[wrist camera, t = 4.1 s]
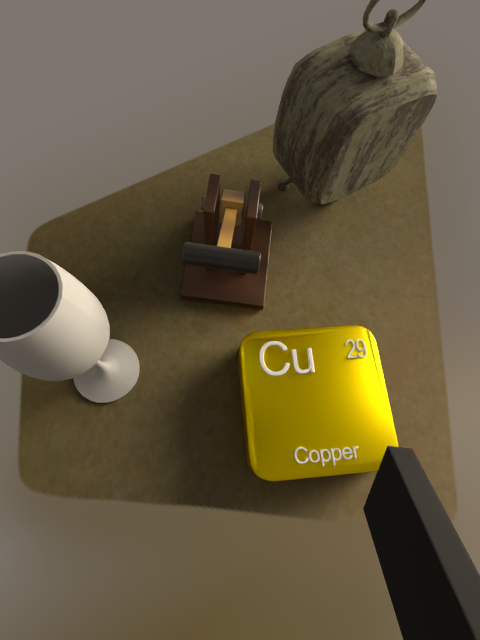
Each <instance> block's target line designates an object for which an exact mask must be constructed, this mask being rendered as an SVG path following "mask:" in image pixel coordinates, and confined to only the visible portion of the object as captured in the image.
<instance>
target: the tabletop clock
mask: <svg viewBox="0 0 480 640" xmlns="http://www.w3.org/2000/svg"><path fill="white" fill-rule="evenodd" d="M379 1H380V0H371V1H370V3H369V4H368V6H367V8H366V10H365V13H364V16H363V26H364V28H365V29H366V30H365V31H361V32H358V33H354V34H350V35H347V36H345V37H343V38H340V39H338V40H336V41H334V42H331V43H329V44H327V45H324V46H322V47H320V48H318V49H316V50H314V51H312V52H311V53H309V54H307V55H306V56H305V57H304V58H302V59H301V60H300V61H299V62H297V63H296V64H295V66H294V68H293V70H292V72H291V74H290V76H289V78H288V80H287V83H286V85H285V88H284V91H283V94H282V98H281V101H280V106H279V109H278V114H277V118H276V121H275V130H274V139H273V152H274V155H275V158H276V160H277V161H278V162H279V164H280V165H281V166H282V168H283V169H284V170H285V172H286V173H287V174H288V176H289V177H290V178H289V179H287V180H286V179H280V180H279V181H278V183H277V187H278V189H279V190H280V191H286V190H287V189H288V187H289V183H291V182H294V184H295V185H296V186H297V188H298V189H299V190H300V192H301V193H302V194H303V196H304V197H305V198H306V200H309V201H312V202H315V203H318V204H327V203H330V202H335V201H337V200H338V199H340V198H342V197H344V196H346V195H349V194H351V193H353V192H355V191H357V190H359V189H361V188H363V187H365V186H367V185H369V184H371V183H373V182H375V181H376V180H378V179H380V178H381V177H383V176H384V175H386V174H387V173H389V172H390V171H391V169H392V168H393V167H394V166H395V165H396V164H397V162H398V161H399V160H400V158H401V157H402V155H403V154H404V152H405V151H406V149H407V148H408V146H409V145H410V143H411V142H412V140H413V139H414V137H415V136H416V134H417V133H418V131H419V129H420V128H421V126H422V124H423V123H424V121H425V119H426V117H427V116H428V114H429V113H430V111H431V109H432V107H433V105H434V103H435V100H436V97H437V88H436V77H435V73H434V72H433V71H432V70H431V69H430V68H429V67H428V66H427V65H426V64H425V63H424V62H423V61H422V60H421V59H420V58H419V57H418V56H417V55H416V54H415V53H414V52H413V51H412V50H411V49H410V48H409V47H408V46H407V45H406V44H405V43H404V42H403V41H402V38H401V37H400V35H399V34H398V33H397V32H396V31H395V30H394V28H396V27H397V26H399V25H401V24H403V23H404V22H405V21H407V20H408V19H410V18H411V17H412V16H413V15H414V14H415V13H416V12H417V11H418V10H419V9H420V8H421V6H422V5H423V4H424V2H425V1H426V0H420V1H419V2H418V3H417V4H416V5H414V6H413V7H412V8H411V9H410V10H408V11H407V12H405V13H403V14H402V15H400V16H399V14H398V11H397V10H394V9H391V10H390V11H389V12H387V15H386V17H385V20H384V22H382V23H379V24H371V23H370V22H369V21H368V18H369V15H370V13H371V11H372V9H373V8H374V7H375V5H376V4H377V3H378V2H379Z"/></svg>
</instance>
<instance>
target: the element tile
mask: <svg viewBox="0 0 480 640" xmlns="http://www.w3.org/2000/svg"><path fill="white" fill-rule="evenodd" d="M238 369H239V380H240V392H241V404H242V415H243V427H244V439H245V450H246V460H247V464H248V466H249V468H250V470H251V472H252V473H253V474H254V475H255V476H257V477H259V478H261V479H264V480H267V481H283V480H294V479H304V478H314V477H324V476H334V475H344V474H354V473H364V472H374V471H378V469H379V466H380V464H381V461H382V459H383V456H384V453H385V451H386V448H387V446H393V447H399V445H398V441H397V436H396V431H395V427H394V422H393V418H392V413H391V408H390V404H389V399H388V394H387V390H386V385H385V381H384V376H383V371H382V367H381V362H380V358H379V353H378V348H377V344H376V340H375V338H374V336H373V335H372V333H371V332H370V331H369V330H367V329H366V328H364V327H361V326H356V325H350V326H334V327H318V328H301V329H285V330H269V331H257V332H252V333H250V334H248V335H246V337H245V338H244V339H243V340H242V343H241V346H240V349H239V353H238Z"/></svg>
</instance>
